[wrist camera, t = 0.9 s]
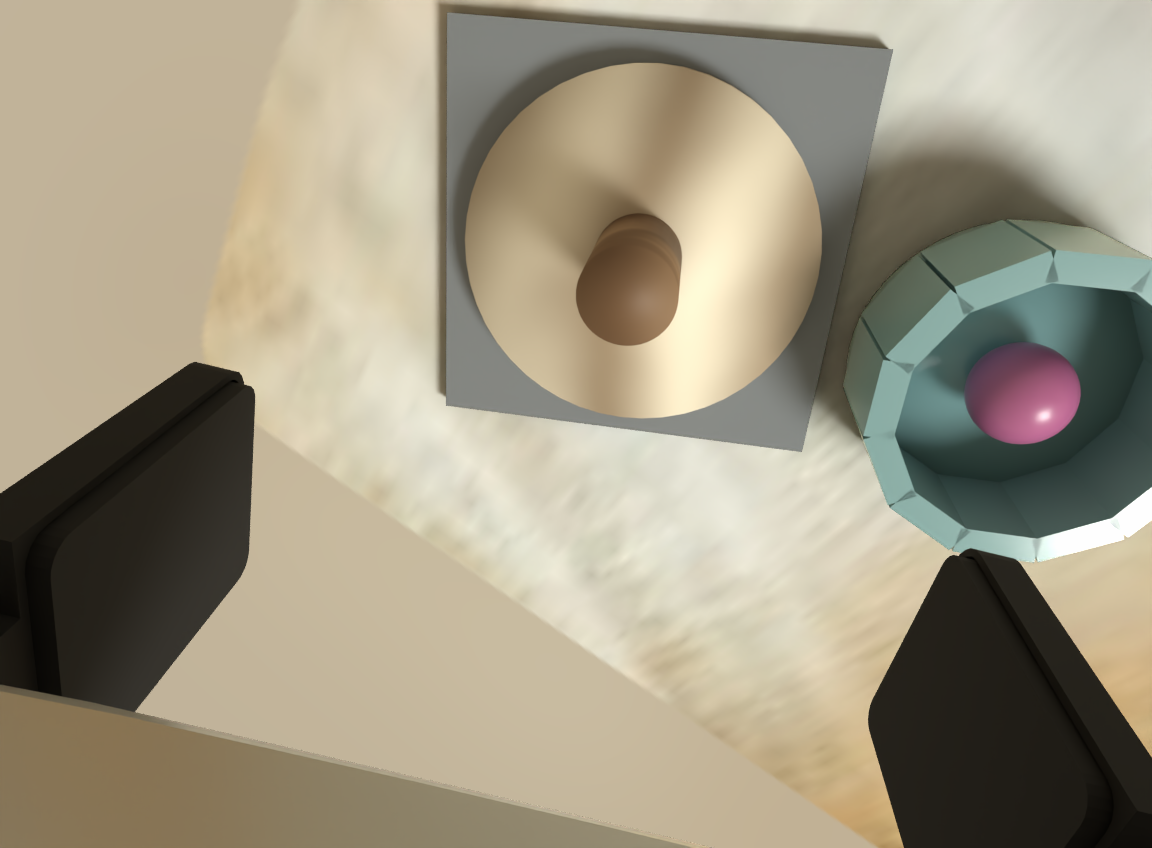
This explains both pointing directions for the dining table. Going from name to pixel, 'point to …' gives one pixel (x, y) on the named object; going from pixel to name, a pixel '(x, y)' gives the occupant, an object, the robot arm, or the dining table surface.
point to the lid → (643, 240)
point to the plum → (1022, 393)
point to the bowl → (964, 335)
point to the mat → (752, 65)
